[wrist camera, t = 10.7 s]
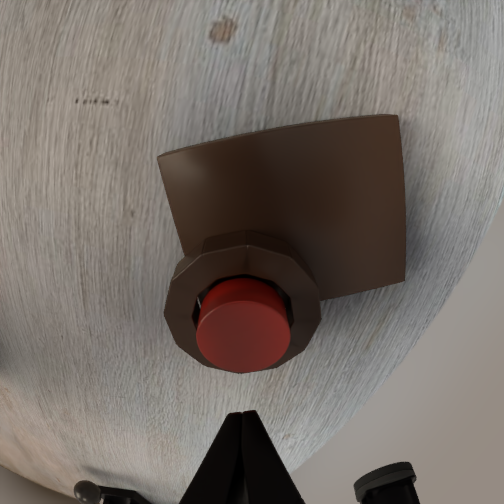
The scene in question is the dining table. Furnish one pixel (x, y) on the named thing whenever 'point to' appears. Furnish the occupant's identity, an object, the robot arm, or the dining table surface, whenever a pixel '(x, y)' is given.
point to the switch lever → (87, 492)
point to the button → (243, 325)
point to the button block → (287, 218)
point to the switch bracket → (121, 496)
